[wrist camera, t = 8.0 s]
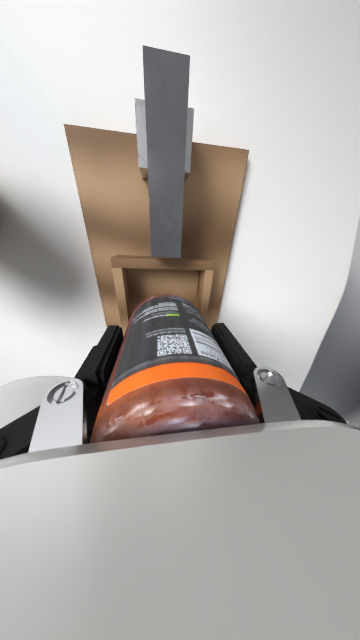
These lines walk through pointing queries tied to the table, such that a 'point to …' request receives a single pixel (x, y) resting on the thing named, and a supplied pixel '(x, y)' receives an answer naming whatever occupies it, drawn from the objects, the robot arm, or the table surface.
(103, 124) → the table surface
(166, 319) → the supplement bottle
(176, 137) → the pair of grey blocks
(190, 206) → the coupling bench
